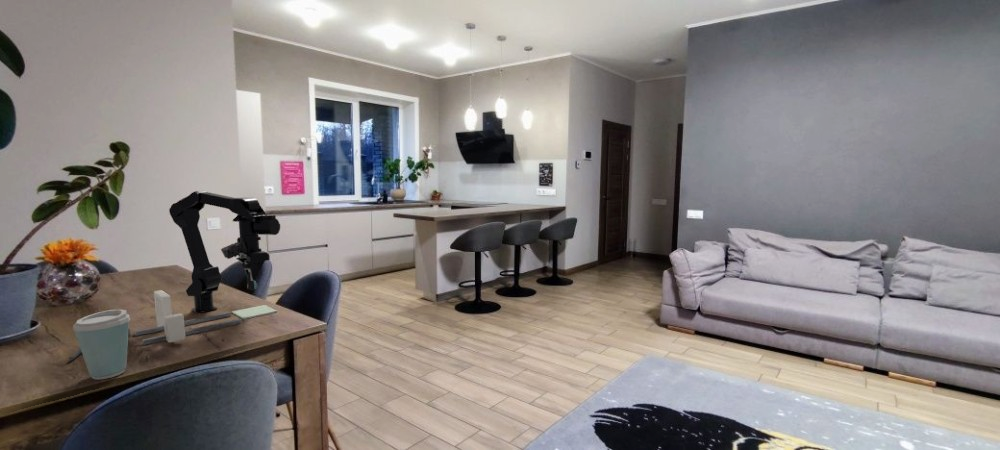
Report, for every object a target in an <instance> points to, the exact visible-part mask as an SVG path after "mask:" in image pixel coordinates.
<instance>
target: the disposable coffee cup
mask: <svg viewBox="0 0 1000 450" xmlns="http://www.w3.org/2000/svg"><path fill="white" fill-rule="evenodd" d="M130 316H131V315H130V314H128V313H127V310H126V309H108V310H103V311H99V312H95V313H91V314H89V315H85V316H84V317H82V318H79V319H77V320H76V322H75V323H74V324H73V326H72V331H74V334H75V336H76V337H75V338H76V340H77V342H78V347H79V346H80V348H81V351H82V353H81V354H82V357H83V360H84V362H85V363H84V364H85V365H86V367H87V371H88V374H89V376H90V377H91V379H93V380H106V379H110V378H114V377H116V376H120V375H121V374H123V373H125V372H126V368H127V361H128V360H127V359H128V346H129V345H128V344H129V337H128V328H129V329H130V327H129V326H130V324H129V323H130V321H131V317H130Z"/></svg>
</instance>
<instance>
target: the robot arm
mask: <svg viewBox="0 0 1000 450" xmlns="http://www.w3.org/2000/svg"><path fill="white" fill-rule="evenodd" d="M205 205H208V206H214V207H218V208H223V209H227V210H229V211H230V212H231V213H233V214H235V215H236V216H235V217H234V218H233V219H232V222H234V223H235V222H238V228H239V231H238V232H239V236H238V237H237V238H236V242H234V243H231V244H229V245H227V246H224V247H222V248H220V250H221V253H222V255H223V256H224V258H226V259H232V258H235V257H236V258H235V259H236V260H237V261H239V262H240V263H241V264H242V263H244V262H245V263H247V264H248V265H249V267H250V271H251V275H252V279H253V280H256V279H257V280H258V276H259V274H260V271H261V269H262V267H264V266H263V265H264V264H265V262H267V261H270V254H269V253H268V252H267V251H263V250H262V248H260V241H261V239H262V237H261V235H263V236H264V235H265V236H277V235H278V234H279V233H280V230H281V224H280V222H279V219H277V218H276V214H269V215H268V214H267V212H266V211H265V210H264V208H263V207H262V206H261V205H260V202H259V201H258V199H257V198H255V197H232V196H227V195H223V194H218V193H212V192H209V191H206V190H195V191H192V192H191V193H190V194H189V195H188V196H185V197H183V198H181V199H180V200H178V201H177V202H174V203H173V204H171V206H170V207H169V209H168V211H169V215H170V217H171V218H172V221H173V223H174V224H175V225H177V226H178V227H179V228H180V229H181V232H182V235H183V238H184V241H185V245H186V247H187V251H188V254H189V256H190V260H191V263H192V266H193V269H192V273H191V281H192V283H191V284H190V285H189V286H188V287H187V289H186V290H185V291H186V294H187V296H188V297H193V302H194V307H193V308H191V311H192V312H194V313H195V314H201V313H205V312H209V311H210V312H211V311H216V310H218V308H217V307H216V306H215V305H214V296H213V292H217V291H218V290H219V286H220V284H221V282H222V275H221V273H220V268H219V266H217V265H216V266H214V265H212V264H211V263H210V260H209V256H208V254H207V251H206V247H205V244H204V242H203V238H202V235H201V232H200V229H199V222H200V219H201V218H200V212H201V210H202V209H204V207H205ZM259 235H260V236H259ZM237 256H238V257H237ZM245 260H247V261H245ZM243 269H244V272H245V274H246V275H245V276H246V278H248V270H246V269H245V268H243Z"/></svg>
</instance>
